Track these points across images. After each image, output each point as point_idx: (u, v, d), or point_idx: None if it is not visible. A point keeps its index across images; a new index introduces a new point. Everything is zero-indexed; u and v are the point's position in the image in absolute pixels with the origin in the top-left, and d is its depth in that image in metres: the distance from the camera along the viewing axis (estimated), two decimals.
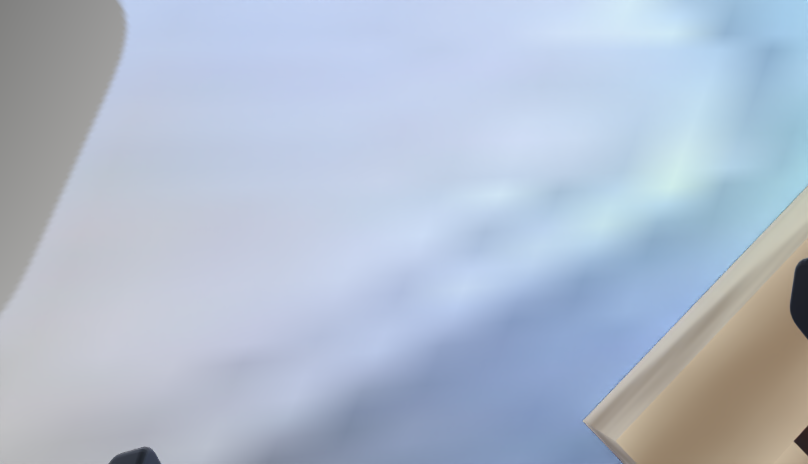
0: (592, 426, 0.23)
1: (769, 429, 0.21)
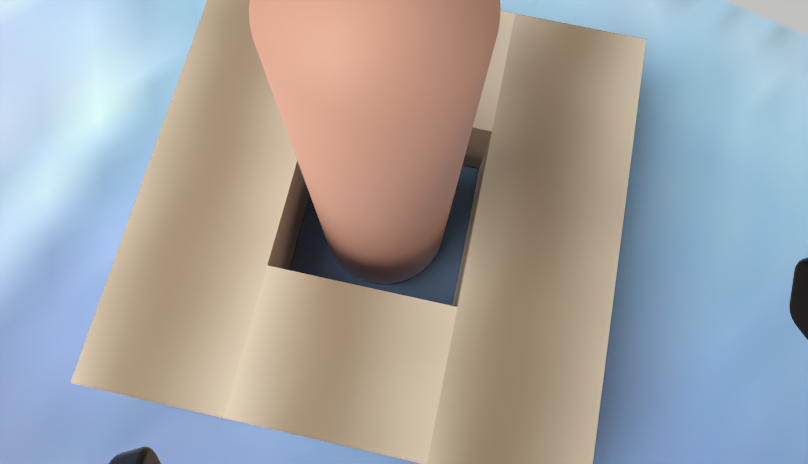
0: None
1: (235, 269, 0.18)
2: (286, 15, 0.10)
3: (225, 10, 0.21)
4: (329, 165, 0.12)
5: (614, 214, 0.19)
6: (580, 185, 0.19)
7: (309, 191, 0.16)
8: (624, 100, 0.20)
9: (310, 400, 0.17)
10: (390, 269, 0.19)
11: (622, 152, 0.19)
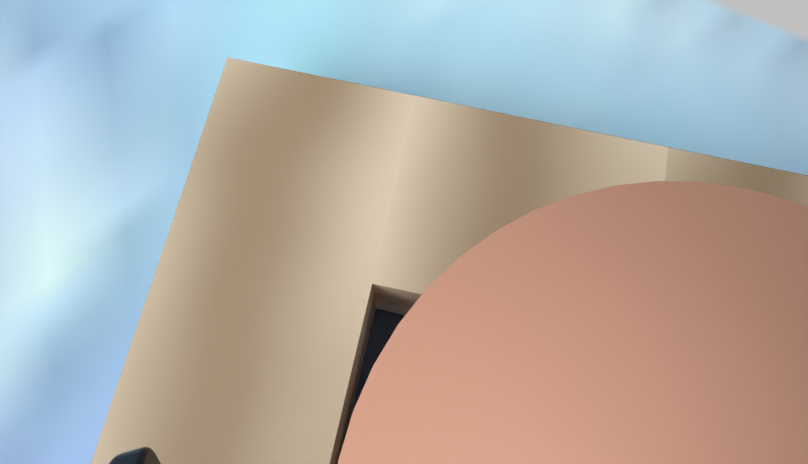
0: None
1: None
2: None
3: (231, 144, 0.14)
4: None
5: None
6: None
7: None
8: None
9: None
10: None
11: None
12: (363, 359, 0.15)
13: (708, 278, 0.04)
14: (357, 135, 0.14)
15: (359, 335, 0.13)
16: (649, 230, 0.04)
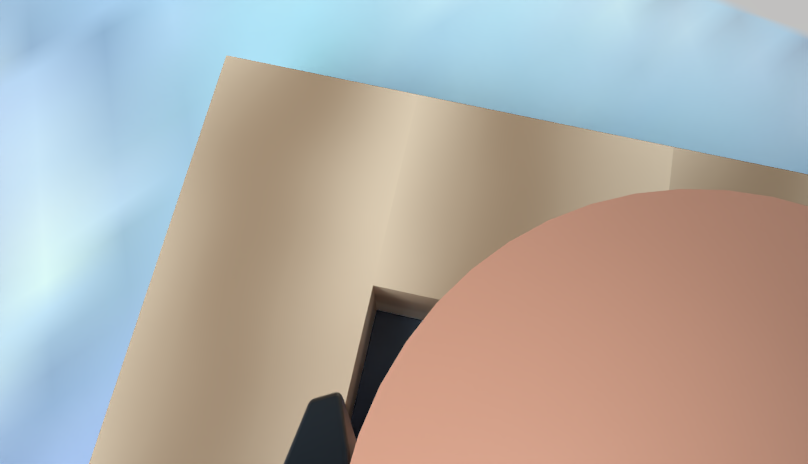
0: None
1: None
2: None
3: (230, 143, 0.13)
4: None
5: None
6: None
7: None
8: None
9: None
10: None
11: None
12: (364, 361, 0.15)
13: (733, 293, 0.03)
14: (357, 134, 0.13)
15: (360, 338, 0.12)
16: (671, 241, 0.04)
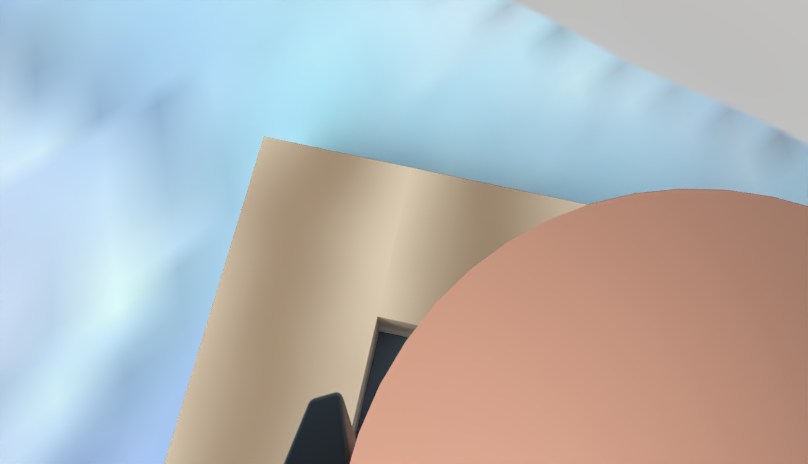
0: None
1: None
2: None
3: (268, 206, 0.17)
4: None
5: None
6: None
7: None
8: None
9: None
10: None
11: None
12: (369, 371, 0.19)
13: (733, 292, 0.03)
14: (365, 199, 0.18)
15: (367, 356, 0.17)
16: (671, 241, 0.04)
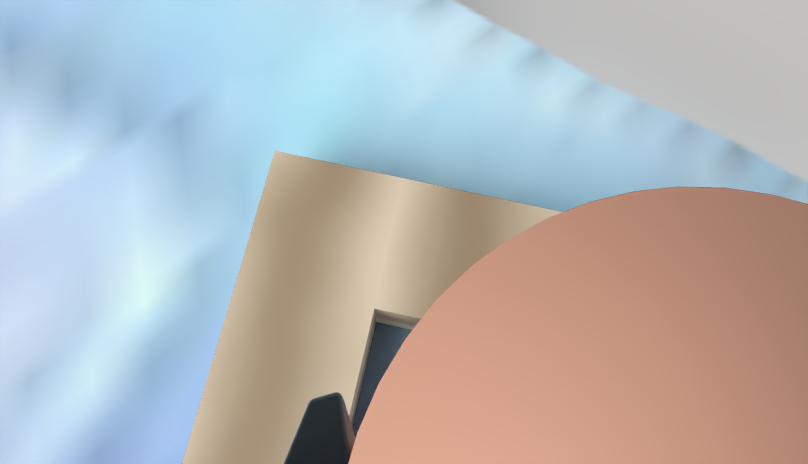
0: None
1: None
2: None
3: (279, 212, 0.20)
4: None
5: None
6: None
7: None
8: None
9: None
10: None
11: None
12: (367, 357, 0.22)
13: (733, 290, 0.03)
14: (364, 206, 0.20)
15: (366, 342, 0.19)
16: (670, 239, 0.04)
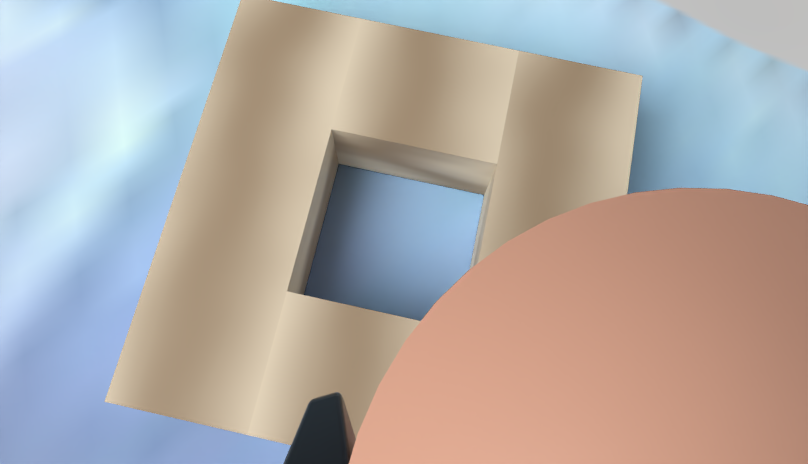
0: None
1: (257, 295, 0.19)
2: None
3: (245, 47, 0.22)
4: None
5: None
6: None
7: None
8: (621, 134, 0.21)
9: None
10: None
11: (619, 184, 0.21)
12: (329, 193, 0.23)
13: (734, 292, 0.03)
14: (324, 42, 0.22)
15: (323, 158, 0.21)
16: (671, 241, 0.04)
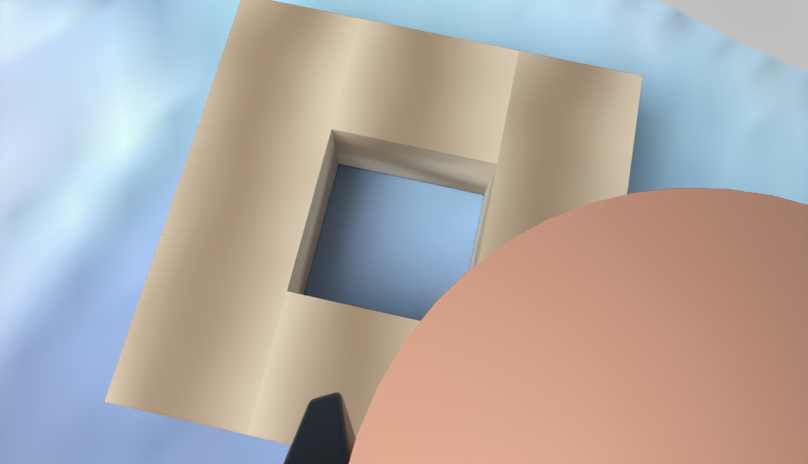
0: None
1: (257, 295, 0.19)
2: None
3: (245, 47, 0.22)
4: None
5: None
6: None
7: None
8: (621, 134, 0.21)
9: None
10: None
11: (619, 184, 0.21)
12: (329, 193, 0.23)
13: (733, 292, 0.03)
14: (324, 42, 0.22)
15: (323, 158, 0.21)
16: (671, 241, 0.04)
